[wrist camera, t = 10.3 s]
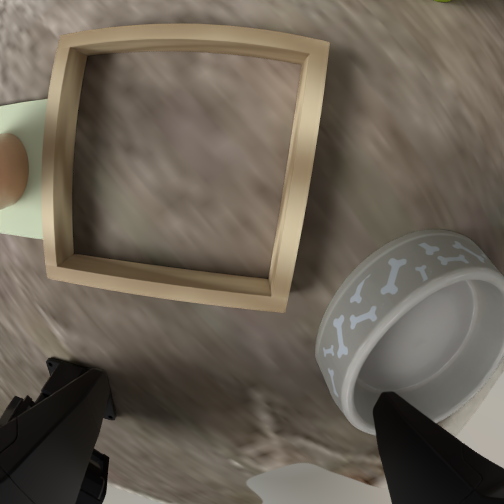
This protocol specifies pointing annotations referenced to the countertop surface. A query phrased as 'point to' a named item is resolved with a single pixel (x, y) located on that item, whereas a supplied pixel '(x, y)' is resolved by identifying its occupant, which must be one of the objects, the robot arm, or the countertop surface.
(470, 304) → the dog bowl
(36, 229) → the potting mat
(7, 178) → the peach rimmed cylinder
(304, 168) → the wooden square frame
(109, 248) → the countertop surface
